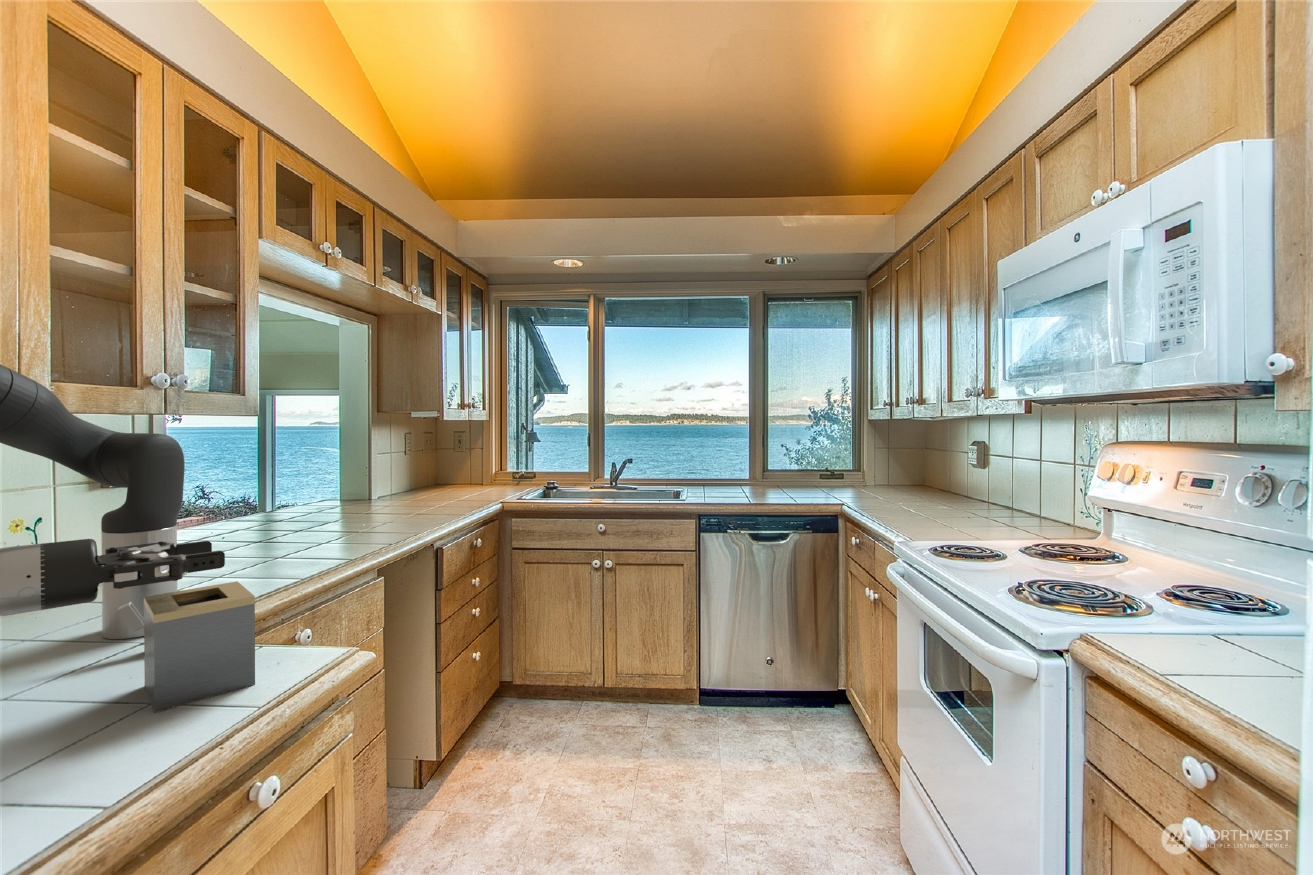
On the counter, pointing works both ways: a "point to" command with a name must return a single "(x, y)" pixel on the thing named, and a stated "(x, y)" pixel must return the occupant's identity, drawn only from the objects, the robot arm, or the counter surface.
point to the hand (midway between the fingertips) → (217, 553)
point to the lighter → (131, 616)
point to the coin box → (198, 644)
